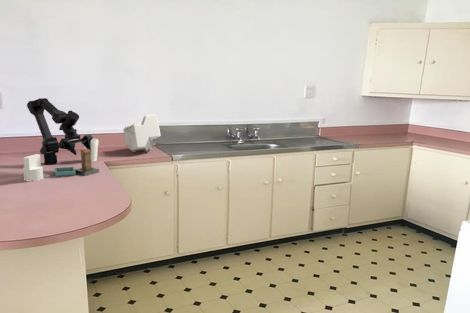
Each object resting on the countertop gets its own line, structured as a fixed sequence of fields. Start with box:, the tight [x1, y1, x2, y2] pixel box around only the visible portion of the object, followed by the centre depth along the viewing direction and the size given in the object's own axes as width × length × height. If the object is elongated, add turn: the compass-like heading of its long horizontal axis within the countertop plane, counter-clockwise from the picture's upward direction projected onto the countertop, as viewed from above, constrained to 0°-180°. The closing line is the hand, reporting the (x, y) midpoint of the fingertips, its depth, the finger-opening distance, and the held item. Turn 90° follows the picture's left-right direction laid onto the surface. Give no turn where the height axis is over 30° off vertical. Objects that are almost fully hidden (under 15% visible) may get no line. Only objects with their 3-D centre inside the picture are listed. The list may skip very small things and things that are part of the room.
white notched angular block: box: [122, 113, 162, 153], centre depth 267 cm, size 20×16×25 cm
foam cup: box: [82, 138, 99, 163], centre depth 239 cm, size 10×9×13 cm
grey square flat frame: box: [75, 166, 100, 177], centre depth 213 cm, size 9×9×2 cm
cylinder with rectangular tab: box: [22, 153, 44, 181], centre depth 198 cm, size 9×9×12 cm
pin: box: [80, 148, 93, 171], centre depth 211 cm, size 4×4×13 cm
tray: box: [54, 166, 76, 178], centre depth 209 cm, size 10×10×2 cm
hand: (83, 153), depth 212 cm, fingers open, 9 cm apart
